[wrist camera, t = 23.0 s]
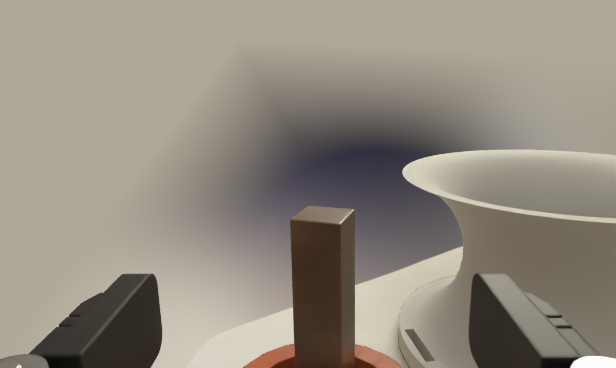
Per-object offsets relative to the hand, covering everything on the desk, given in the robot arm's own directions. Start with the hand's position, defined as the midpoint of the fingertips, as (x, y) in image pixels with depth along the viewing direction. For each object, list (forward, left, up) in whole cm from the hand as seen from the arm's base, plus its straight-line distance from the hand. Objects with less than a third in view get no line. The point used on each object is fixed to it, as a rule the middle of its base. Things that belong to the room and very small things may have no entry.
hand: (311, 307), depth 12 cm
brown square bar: (-3, +9, -18) cm, 20 cm away
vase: (+9, +32, -19) cm, 38 cm away
